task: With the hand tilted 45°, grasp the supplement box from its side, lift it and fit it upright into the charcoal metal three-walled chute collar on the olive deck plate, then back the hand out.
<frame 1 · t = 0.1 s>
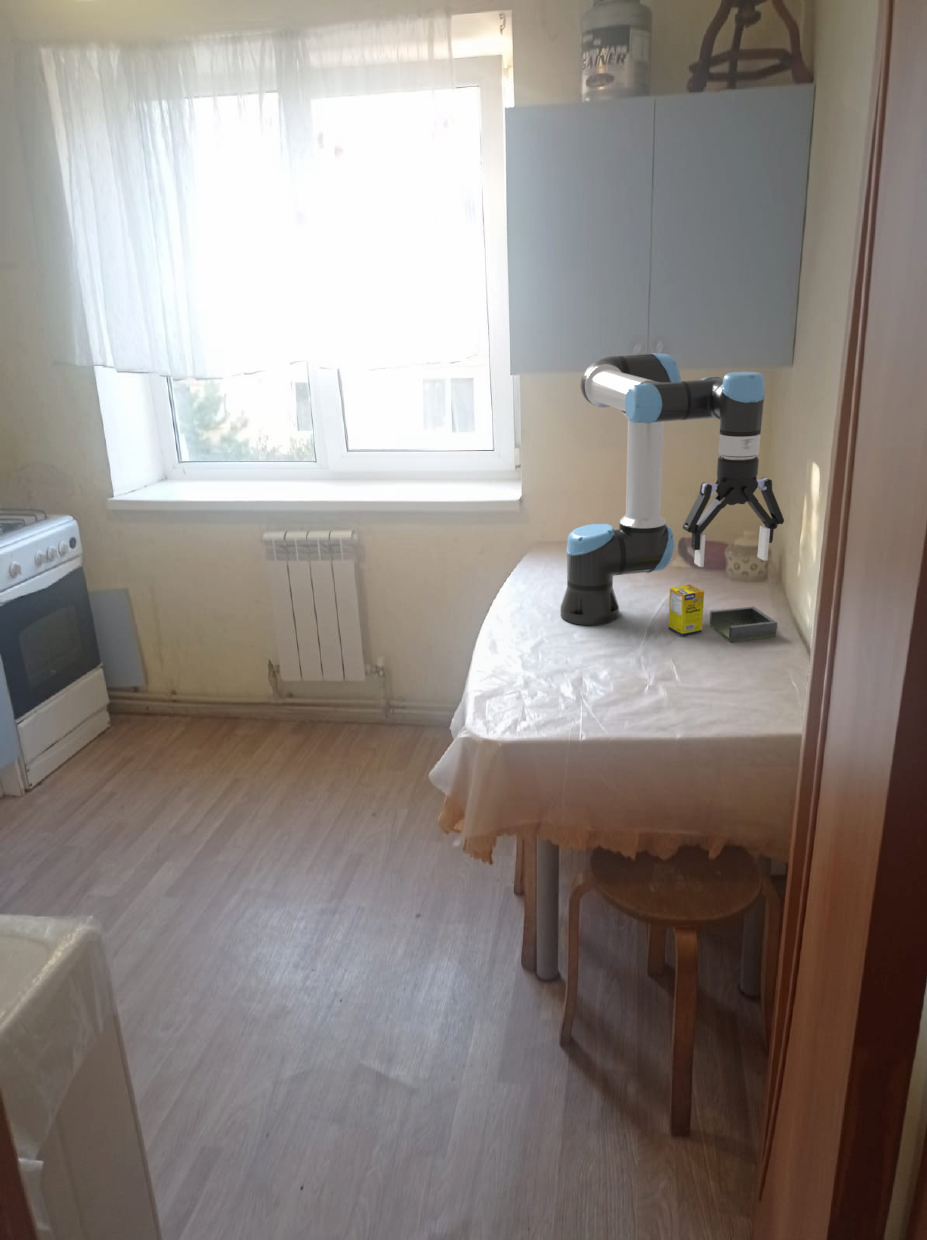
hand: (730, 562, 176), 28 cm above the table, tool pointing down, fingers open, 13 cm apart
chute collar: (741, 631, 215), on the table
supplement box: (684, 631, 217), on the table
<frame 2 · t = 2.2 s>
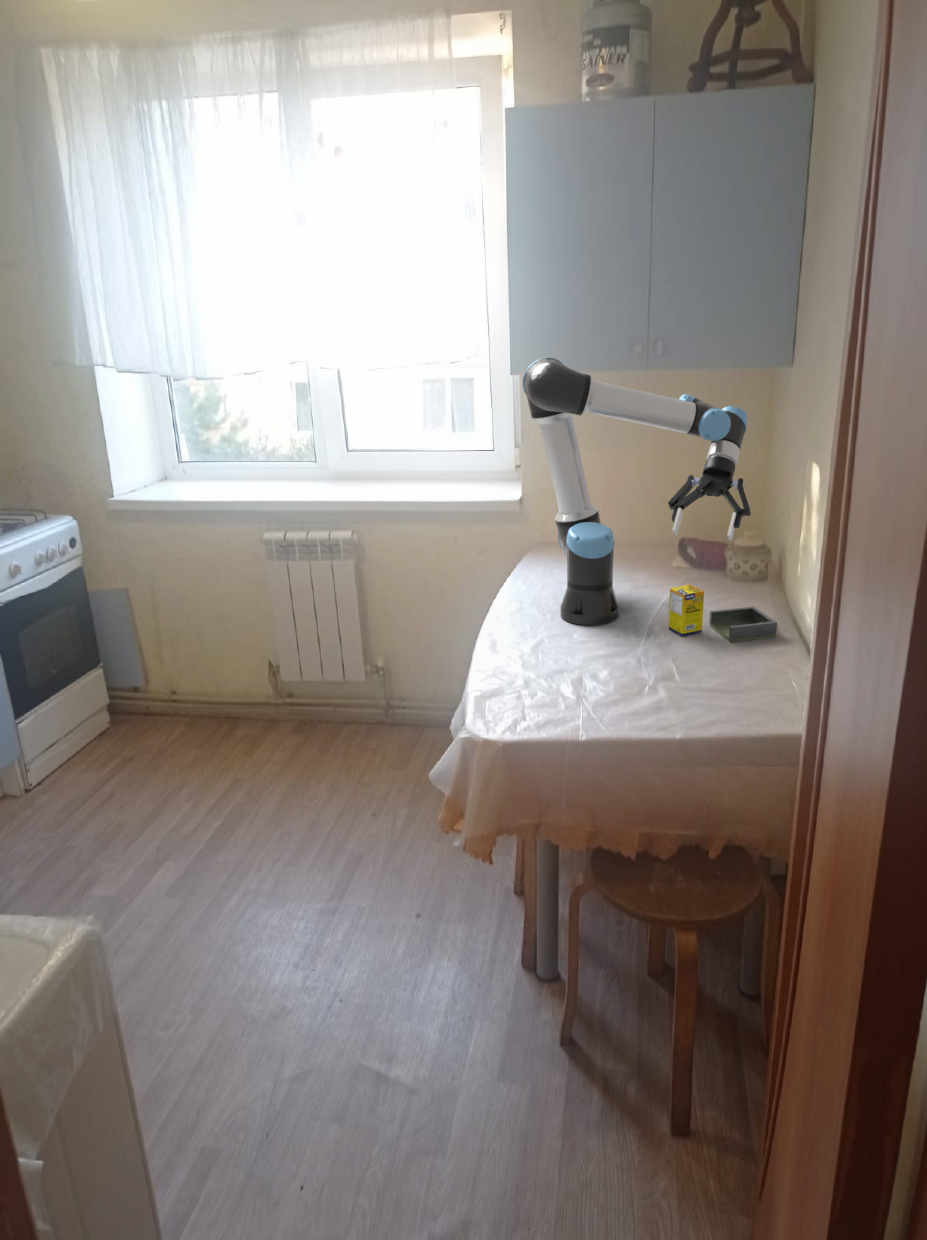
hand: (701, 535, 217), 22 cm above the table, tool tilted 45°, fingers open, 13 cm apart
nothing on the table moved.
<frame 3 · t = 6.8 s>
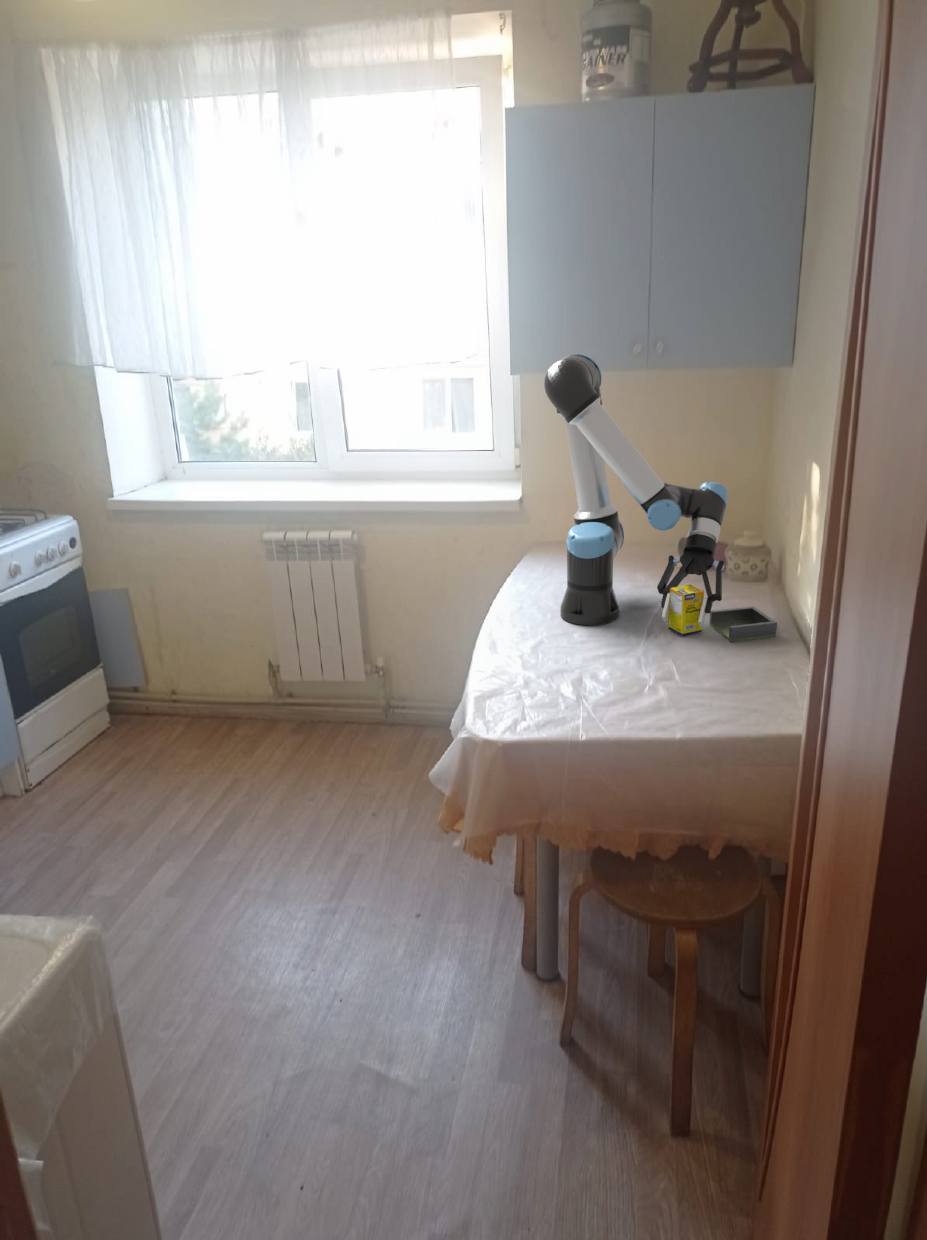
hand: (682, 621, 213), 4 cm above the table, tool tilted 45°, fingers closed on supplement box, 8 cm apart
supplement box: (685, 631, 217), on the table, touching gripper
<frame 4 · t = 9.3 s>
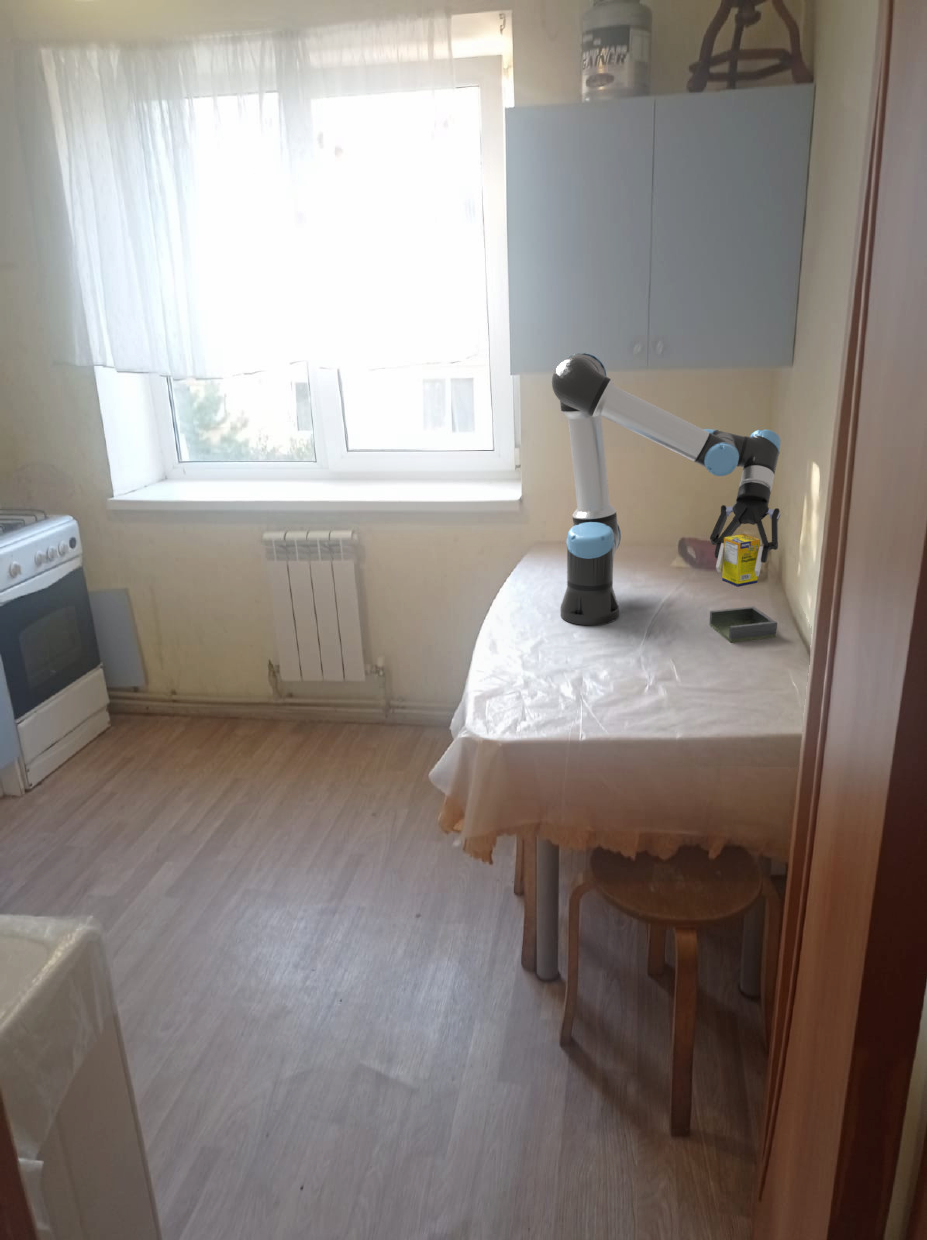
hand: (737, 571, 206), 16 cm above the table, tool tilted 45°, fingers closed on supplement box, 8 cm apart
supplement box: (739, 582, 210), point 13 cm above the table, touching gripper
when the fingers open (6 cm above the table, at t = 12.3 s): supplement box drops 1 cm, resting on chute collar.
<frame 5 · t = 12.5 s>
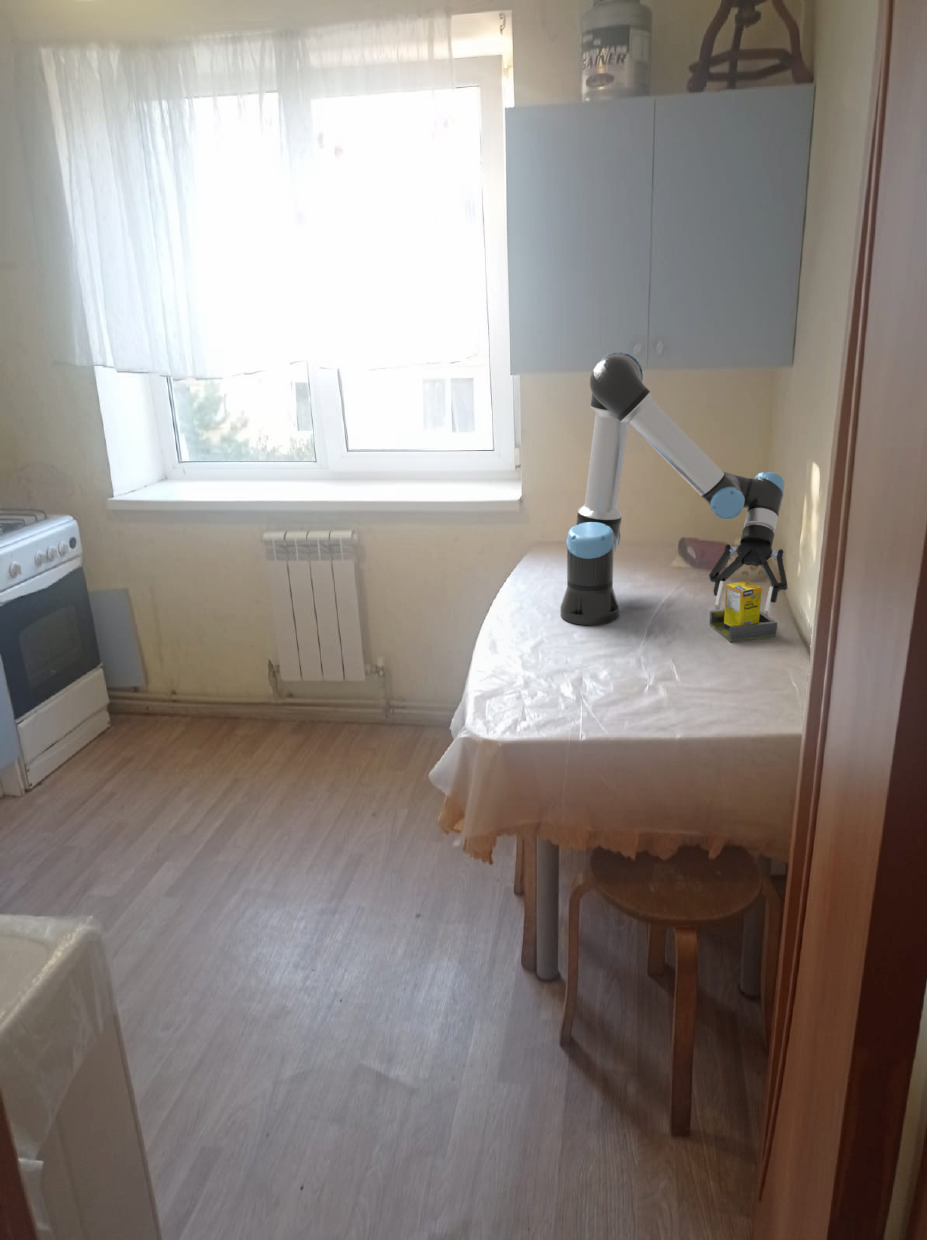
hand: (741, 610, 210), 6 cm above the table, tool tilted 45°, fingers open, 11 cm apart
supplement box: (740, 628, 215), point 1 cm above the table, touching chute collar
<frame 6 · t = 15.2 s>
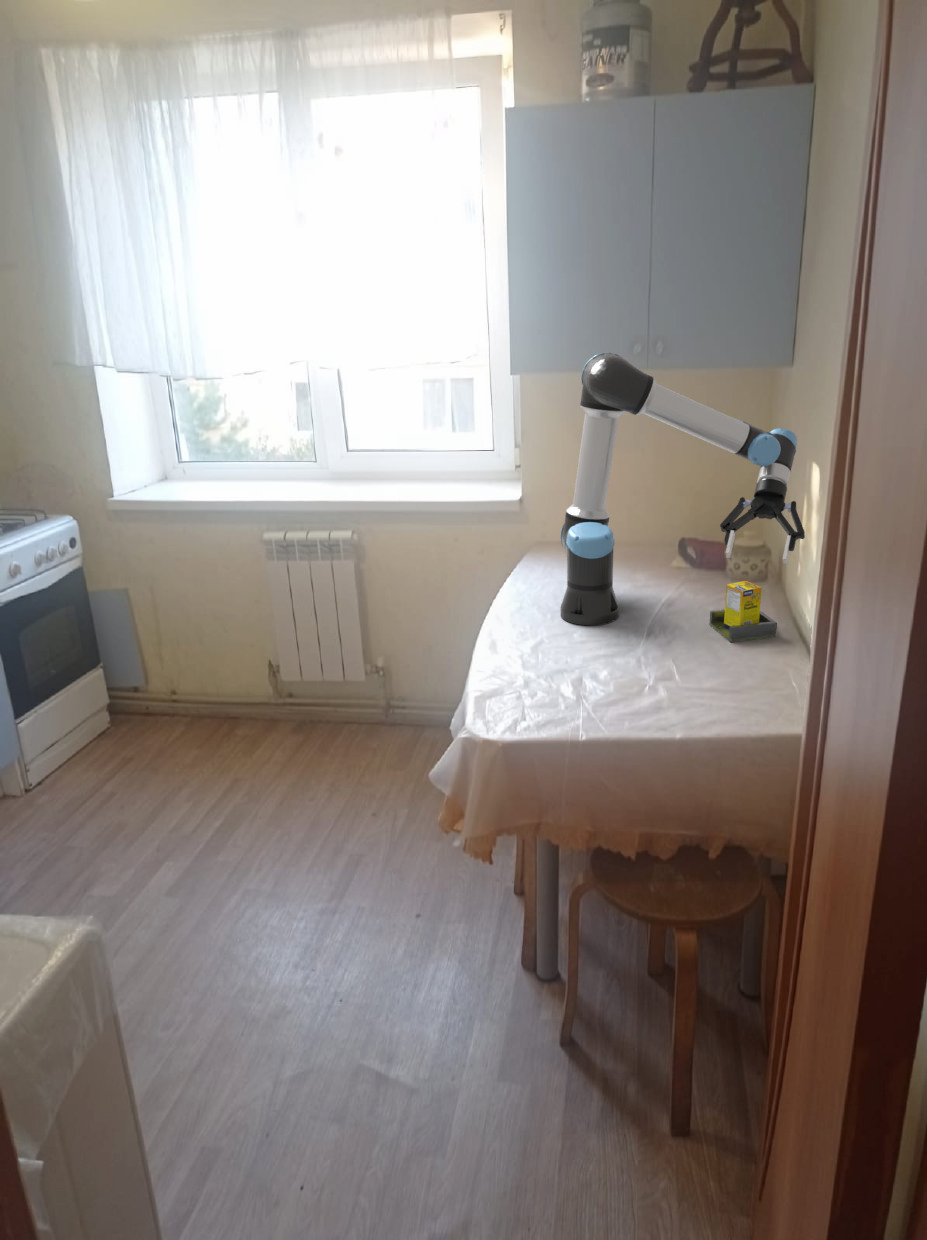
hand: (755, 558, 217), 16 cm above the table, tool tilted 45°, fingers open, 13 cm apart
nothing on the table moved.
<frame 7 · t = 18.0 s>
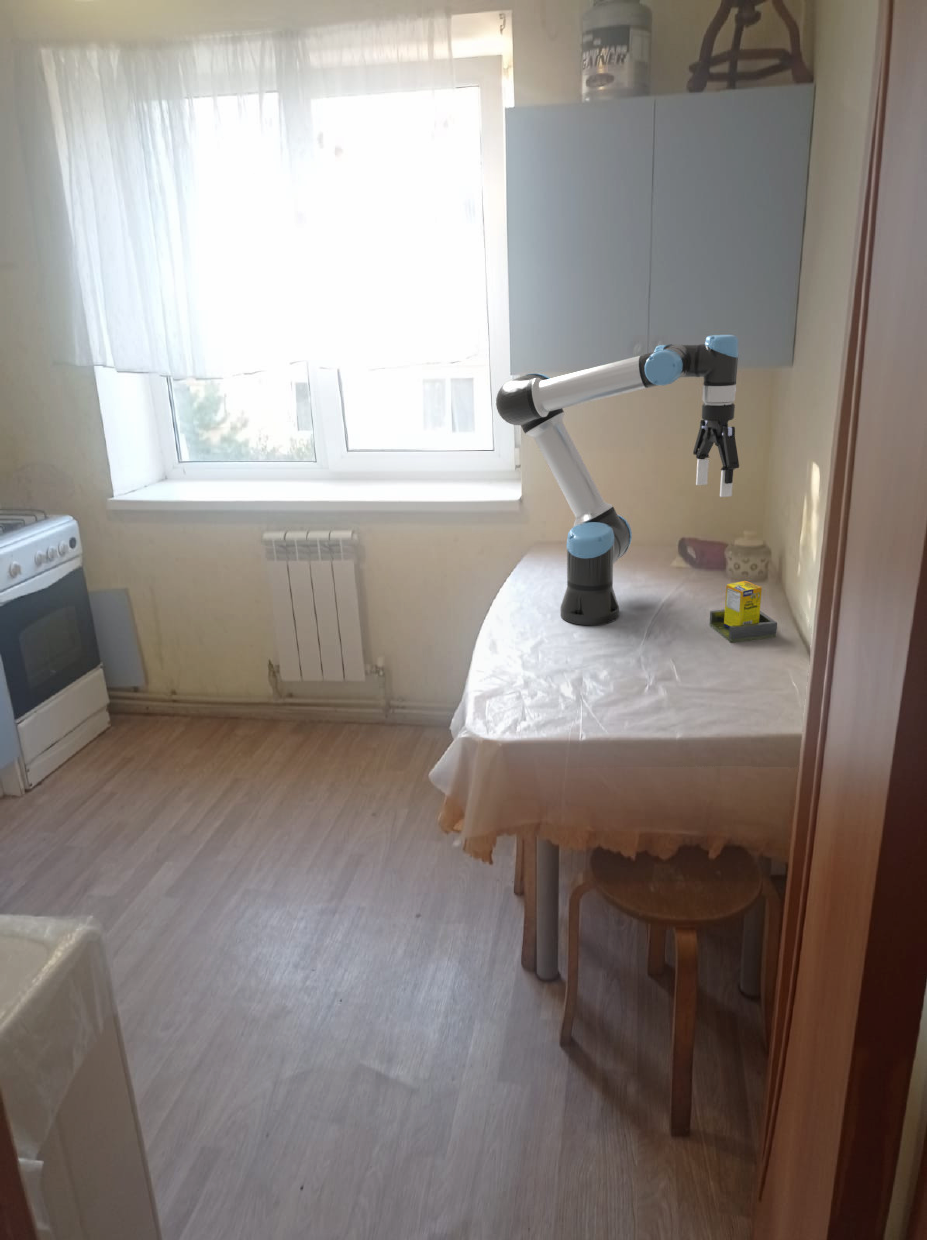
hand: (713, 490, 218), 32 cm above the table, tool pointing down, fingers open, 13 cm apart
nothing on the table moved.
at the end: supplement box 0.3 cm off-centre on the chute collar, point 0.6 cm above the chute collar's base; supplement box tilted 0°; the gripper is holding nothing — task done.
